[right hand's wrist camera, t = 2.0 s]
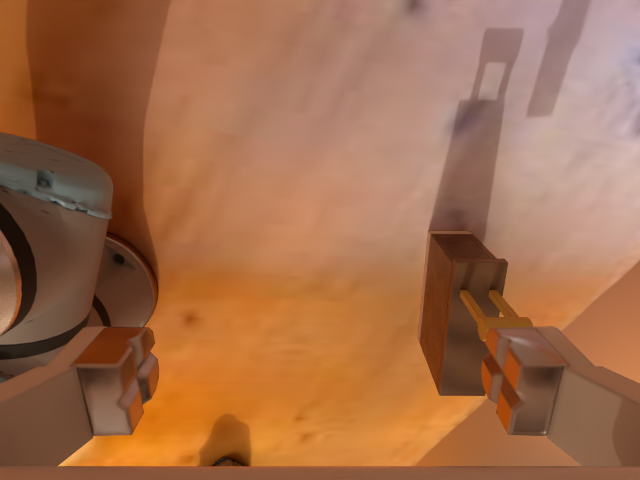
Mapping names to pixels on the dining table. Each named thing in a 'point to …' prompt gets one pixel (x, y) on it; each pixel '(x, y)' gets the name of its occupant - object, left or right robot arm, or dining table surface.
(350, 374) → the dining table surface
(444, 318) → the chest
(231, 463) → the rock
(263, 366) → the dining table surface
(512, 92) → the dining table surface
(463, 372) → the lid
